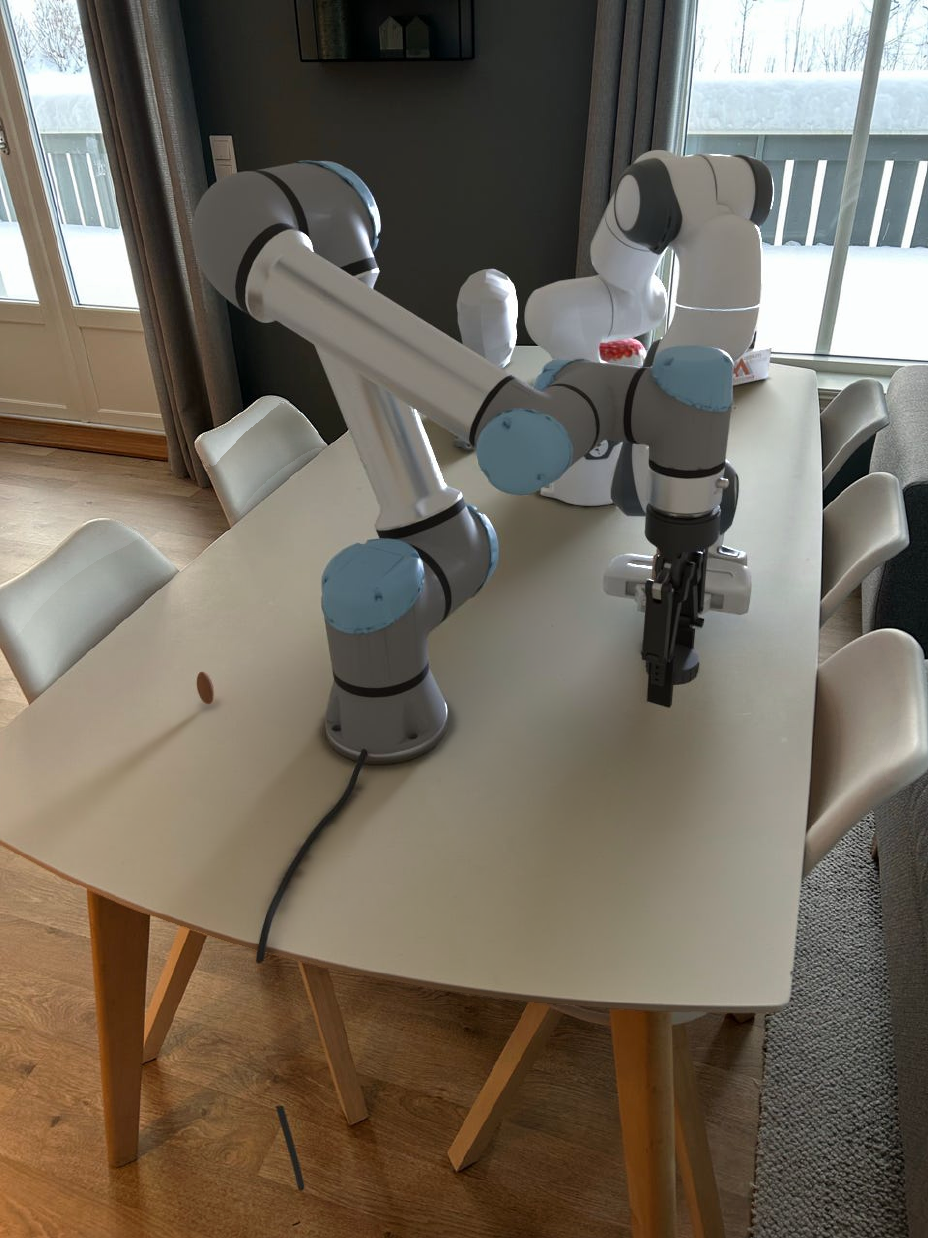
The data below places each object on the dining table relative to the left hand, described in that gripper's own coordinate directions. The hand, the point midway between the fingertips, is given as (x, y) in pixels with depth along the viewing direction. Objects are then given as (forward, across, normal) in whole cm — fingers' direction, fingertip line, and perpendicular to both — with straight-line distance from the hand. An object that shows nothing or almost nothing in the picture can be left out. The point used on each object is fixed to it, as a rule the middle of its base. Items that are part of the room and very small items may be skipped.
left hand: (669, 687), depth 105 cm
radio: (+7, +144, +40) cm, 149 cm away
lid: (-4, 0, 0) cm, 4 cm away
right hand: (+1, +18, +7) cm, 19 cm away
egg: (+7, -21, +55) cm, 59 cm away
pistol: (+7, +82, +79) cm, 114 cm away
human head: (+6, +128, +98) cm, 161 cm away
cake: (+7, +133, +67) cm, 149 cm away
